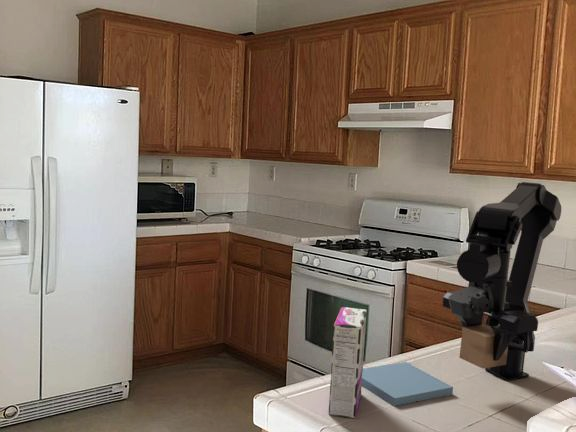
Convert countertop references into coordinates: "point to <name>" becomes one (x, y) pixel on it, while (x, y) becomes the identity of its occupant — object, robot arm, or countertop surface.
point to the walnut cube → (480, 346)
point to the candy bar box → (347, 362)
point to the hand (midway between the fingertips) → (483, 354)
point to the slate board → (403, 383)
